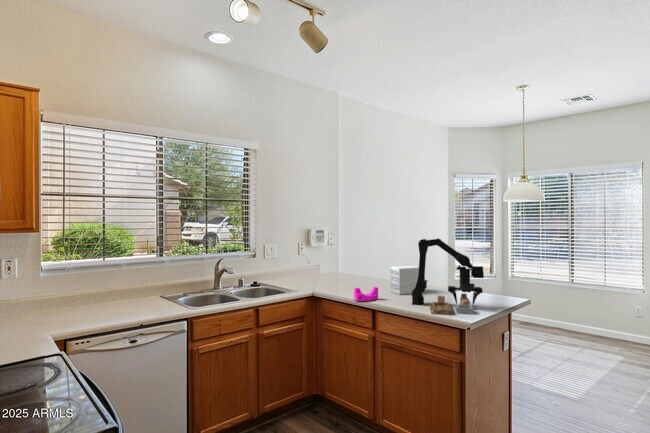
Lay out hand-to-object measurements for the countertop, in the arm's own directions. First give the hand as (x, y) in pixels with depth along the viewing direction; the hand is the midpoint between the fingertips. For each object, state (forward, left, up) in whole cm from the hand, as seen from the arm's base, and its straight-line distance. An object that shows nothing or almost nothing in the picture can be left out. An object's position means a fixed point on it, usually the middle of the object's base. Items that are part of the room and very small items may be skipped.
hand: (464, 304), depth 228 cm
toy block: (-59, +10, -2) cm, 60 cm away
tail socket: (-2, -13, -2) cm, 13 cm away
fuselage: (0, 0, -2) cm, 2 cm away
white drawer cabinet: (-35, +40, -2) cm, 53 cm away
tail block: (-13, +5, -2) cm, 14 cm away
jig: (-14, -11, -2) cm, 18 cm away
